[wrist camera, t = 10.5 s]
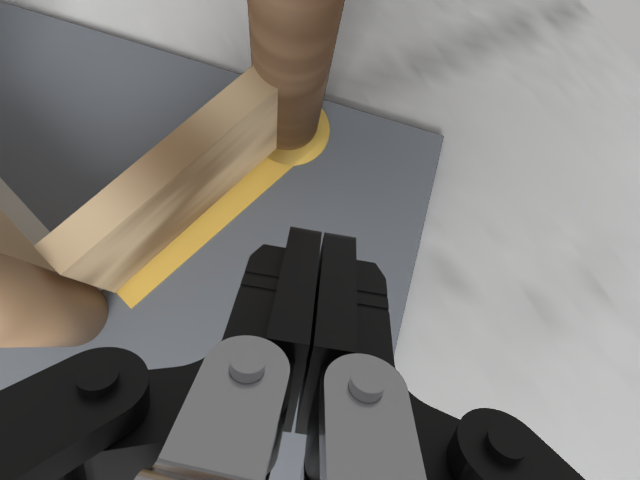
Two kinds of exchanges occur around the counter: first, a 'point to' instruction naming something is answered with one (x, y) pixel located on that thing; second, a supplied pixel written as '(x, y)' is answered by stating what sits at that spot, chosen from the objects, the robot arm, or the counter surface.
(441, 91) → the counter surface
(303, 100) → the plank with upright peg
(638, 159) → the counter surface
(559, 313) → the counter surface
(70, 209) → the board
